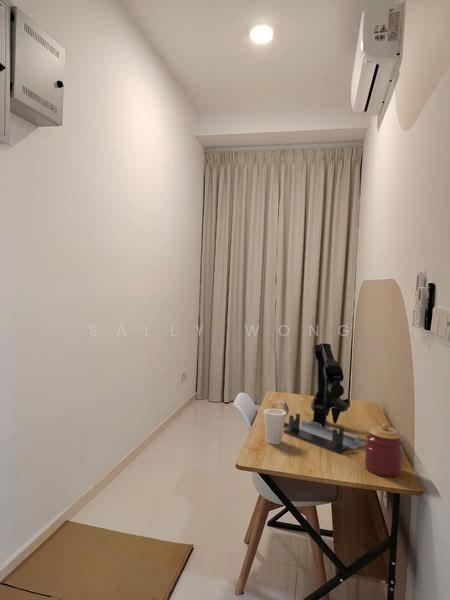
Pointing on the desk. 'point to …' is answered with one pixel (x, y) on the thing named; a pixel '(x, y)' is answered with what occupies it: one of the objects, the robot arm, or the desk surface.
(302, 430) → the mat
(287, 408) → the watch
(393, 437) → the canister
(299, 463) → the desk surface
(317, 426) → the rail
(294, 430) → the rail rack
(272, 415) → the foam cup
